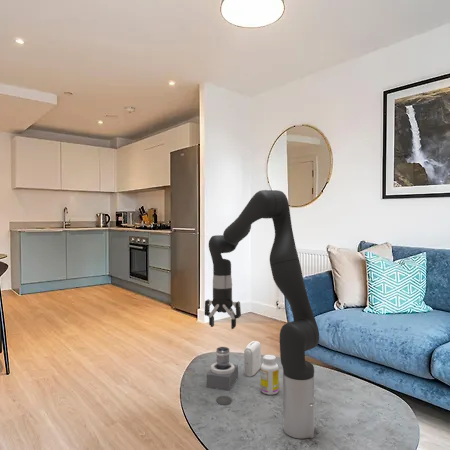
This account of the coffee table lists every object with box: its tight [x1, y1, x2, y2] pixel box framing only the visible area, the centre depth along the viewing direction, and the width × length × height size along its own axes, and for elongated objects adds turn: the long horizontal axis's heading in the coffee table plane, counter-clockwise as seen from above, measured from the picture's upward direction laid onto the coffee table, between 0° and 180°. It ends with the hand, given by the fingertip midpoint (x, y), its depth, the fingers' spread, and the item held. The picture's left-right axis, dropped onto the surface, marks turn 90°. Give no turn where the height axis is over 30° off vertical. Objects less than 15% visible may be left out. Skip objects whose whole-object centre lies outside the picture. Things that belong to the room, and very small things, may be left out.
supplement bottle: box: [260, 354, 280, 396], centre depth 135 cm, size 7×7×13 cm
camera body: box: [206, 361, 239, 391], centre depth 143 cm, size 9×12×6 cm
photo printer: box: [243, 340, 262, 377], centre depth 153 cm, size 10×4×12 cm, turn 152°
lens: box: [215, 346, 230, 370], centre depth 143 cm, size 5×5×8 cm
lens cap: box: [215, 395, 233, 406], centre depth 128 cm, size 6×6×1 cm
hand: (222, 327), depth 143 cm, fingers open, 8 cm apart
